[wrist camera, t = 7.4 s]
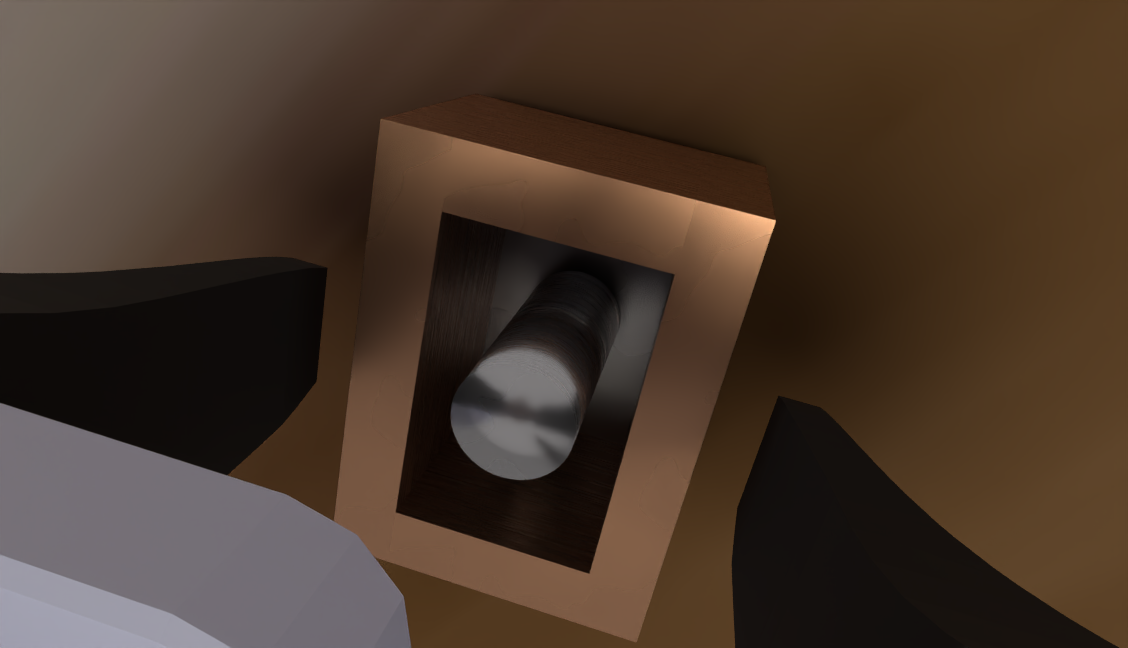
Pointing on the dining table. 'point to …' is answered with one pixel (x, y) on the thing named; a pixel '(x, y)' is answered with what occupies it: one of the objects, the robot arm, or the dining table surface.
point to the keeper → (557, 356)
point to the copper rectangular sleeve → (458, 331)
